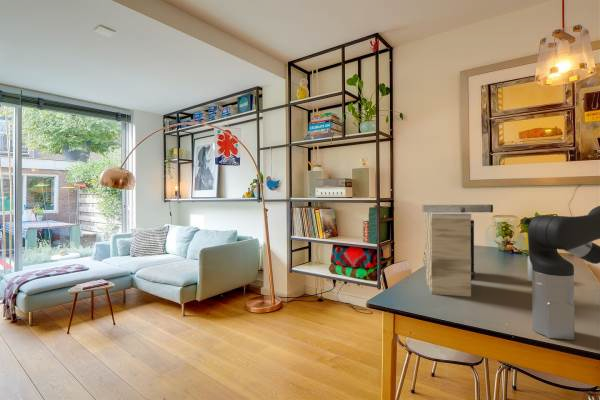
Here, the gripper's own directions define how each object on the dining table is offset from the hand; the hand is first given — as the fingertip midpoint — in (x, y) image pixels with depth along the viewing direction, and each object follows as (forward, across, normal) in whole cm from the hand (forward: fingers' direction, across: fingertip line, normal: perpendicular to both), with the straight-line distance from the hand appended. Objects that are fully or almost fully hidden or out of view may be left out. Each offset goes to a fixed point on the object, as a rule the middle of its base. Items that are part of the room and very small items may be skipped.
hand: (529, 221), depth 124 cm
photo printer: (-23, -21, +19) cm, 37 cm away
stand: (+12, 0, +40) cm, 42 cm away
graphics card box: (+4, -25, +36) cm, 44 cm away
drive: (+25, 0, +10) cm, 27 cm away
